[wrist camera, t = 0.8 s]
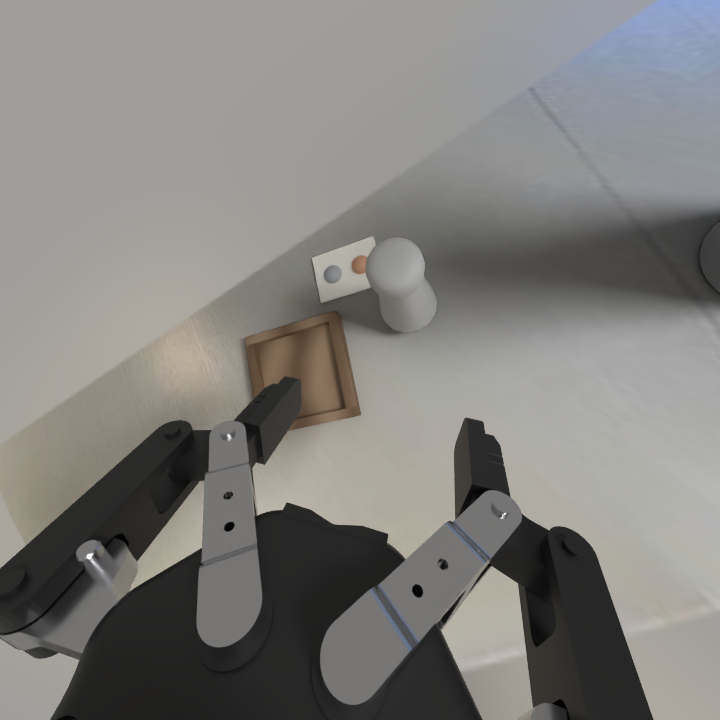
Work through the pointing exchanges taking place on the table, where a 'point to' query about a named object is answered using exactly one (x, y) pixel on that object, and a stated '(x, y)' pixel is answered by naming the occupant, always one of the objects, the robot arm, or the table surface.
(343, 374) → the walnut tray
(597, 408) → the table surface
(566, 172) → the table surface
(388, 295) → the salt shaker
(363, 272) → the card
